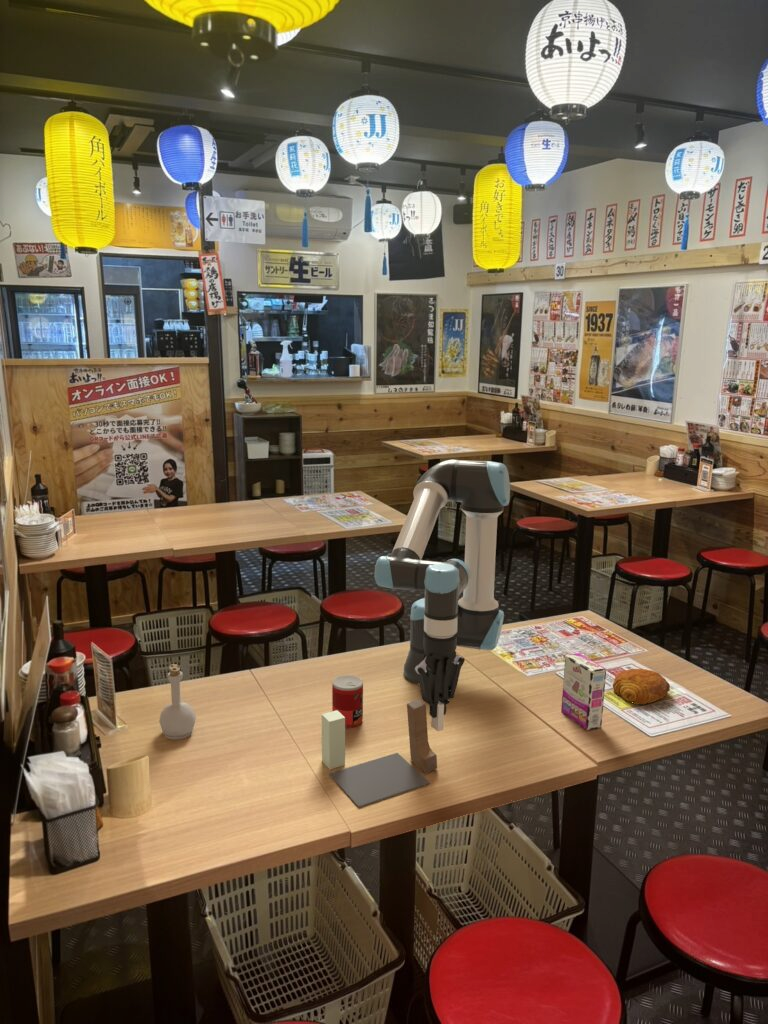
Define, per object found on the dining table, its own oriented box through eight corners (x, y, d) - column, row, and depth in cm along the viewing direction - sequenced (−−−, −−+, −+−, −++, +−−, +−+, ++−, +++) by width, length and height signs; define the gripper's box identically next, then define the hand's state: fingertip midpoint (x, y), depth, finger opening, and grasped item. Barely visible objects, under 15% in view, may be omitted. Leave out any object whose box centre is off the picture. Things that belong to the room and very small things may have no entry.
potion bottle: (184, 720, 189) (181, 655, 185) (202, 733, 183) (199, 666, 179) (153, 732, 183) (148, 665, 179) (170, 746, 177) (166, 677, 173)
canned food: (359, 729, 186) (359, 689, 183) (328, 726, 187) (328, 686, 185) (365, 715, 193) (366, 676, 190) (336, 712, 194) (336, 673, 192)
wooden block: (410, 760, 172) (406, 703, 168) (422, 755, 174) (418, 698, 170) (425, 773, 167) (421, 715, 163) (437, 768, 168) (434, 710, 164)
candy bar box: (602, 727, 188) (607, 668, 185) (587, 731, 186) (591, 671, 183) (575, 708, 198) (579, 651, 195) (560, 711, 196) (564, 654, 193)
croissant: (676, 704, 206) (682, 677, 205) (642, 711, 197) (648, 683, 196) (633, 683, 218) (639, 658, 216) (599, 689, 209) (605, 663, 208)
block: (337, 756, 173) (337, 710, 171) (345, 764, 170) (345, 717, 167) (322, 761, 171) (321, 714, 169) (329, 769, 168) (329, 721, 165)
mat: (397, 754, 175) (397, 752, 175) (429, 783, 163) (429, 782, 163) (329, 774, 166) (329, 773, 166) (358, 807, 154) (358, 806, 154)
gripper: (454, 622, 171) (450, 714, 176) (406, 632, 165) (404, 728, 170) (473, 632, 165) (469, 728, 170) (425, 643, 158) (422, 742, 163)
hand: (437, 728), depth 170 cm, fingers closed
